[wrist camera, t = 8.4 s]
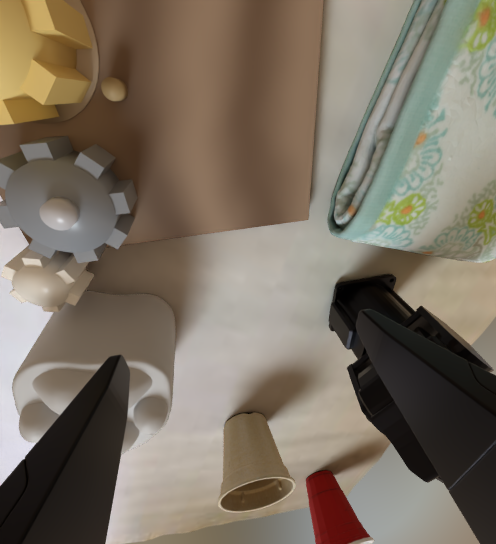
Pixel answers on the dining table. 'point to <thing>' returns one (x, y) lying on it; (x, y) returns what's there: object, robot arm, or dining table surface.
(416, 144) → the towel
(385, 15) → the dining table surface
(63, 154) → the gear
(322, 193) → the dining table surface
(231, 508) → the flower pot
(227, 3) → the board
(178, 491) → the dining table surface
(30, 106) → the loose gear
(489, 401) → the robot arm
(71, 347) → the grey paw block
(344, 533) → the plastic cup
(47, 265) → the small gear
